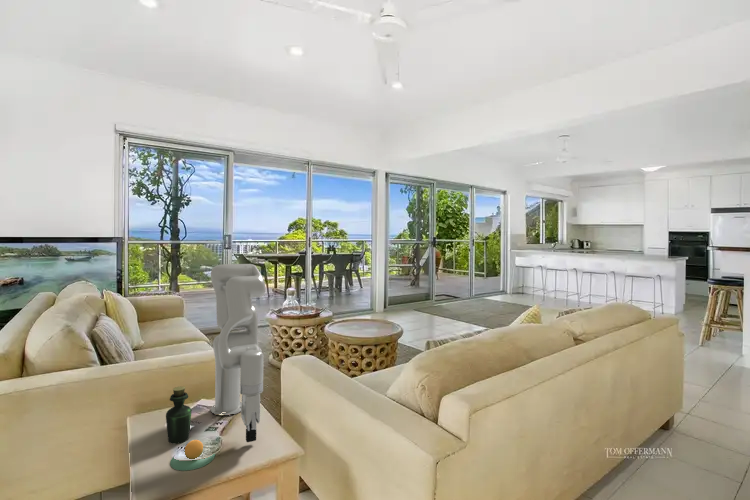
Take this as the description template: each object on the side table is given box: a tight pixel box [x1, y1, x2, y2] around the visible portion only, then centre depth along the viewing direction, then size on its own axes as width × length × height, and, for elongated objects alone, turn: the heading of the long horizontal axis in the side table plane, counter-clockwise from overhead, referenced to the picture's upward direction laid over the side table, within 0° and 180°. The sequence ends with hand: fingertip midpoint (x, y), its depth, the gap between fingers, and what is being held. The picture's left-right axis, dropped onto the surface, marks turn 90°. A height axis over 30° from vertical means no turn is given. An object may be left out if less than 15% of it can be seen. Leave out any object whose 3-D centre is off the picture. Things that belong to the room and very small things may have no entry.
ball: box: [183, 439, 204, 459], centre depth 125 cm, size 6×6×6 cm
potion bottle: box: [165, 385, 193, 445], centre depth 136 cm, size 8×8×18 cm
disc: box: [169, 453, 216, 472], centre depth 125 cm, size 13×13×1 cm
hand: (251, 440), depth 134 cm, fingers closed
